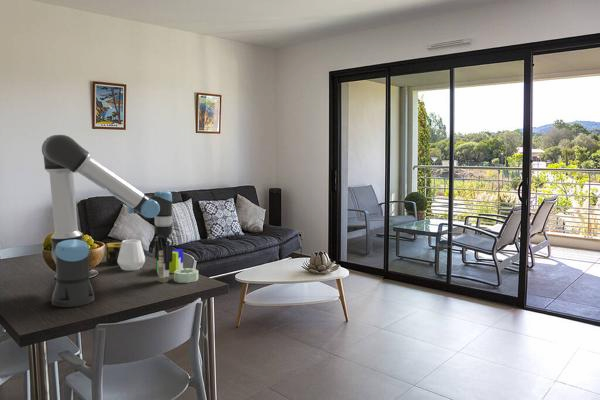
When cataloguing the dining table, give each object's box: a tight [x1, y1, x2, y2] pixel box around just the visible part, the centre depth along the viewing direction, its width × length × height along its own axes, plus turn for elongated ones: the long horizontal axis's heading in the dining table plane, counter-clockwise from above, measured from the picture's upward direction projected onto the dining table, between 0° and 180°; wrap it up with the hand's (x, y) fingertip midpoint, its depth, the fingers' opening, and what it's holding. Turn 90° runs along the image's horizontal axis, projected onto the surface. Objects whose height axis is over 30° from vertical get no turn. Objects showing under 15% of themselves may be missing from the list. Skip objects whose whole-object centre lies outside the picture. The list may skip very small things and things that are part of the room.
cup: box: [117, 239, 146, 272], centre depth 240 cm, size 13×13×14 cm
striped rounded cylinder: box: [158, 250, 169, 283], centre depth 218 cm, size 4×4×14 cm
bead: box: [173, 267, 199, 284], centre depth 222 cm, size 10×10×4 cm
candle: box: [105, 242, 122, 267], centre depth 250 cm, size 10×10×10 cm
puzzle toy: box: [155, 248, 184, 274], centre depth 238 cm, size 10×10×10 cm
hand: (163, 275), depth 218 cm, fingers open, 4 cm apart
